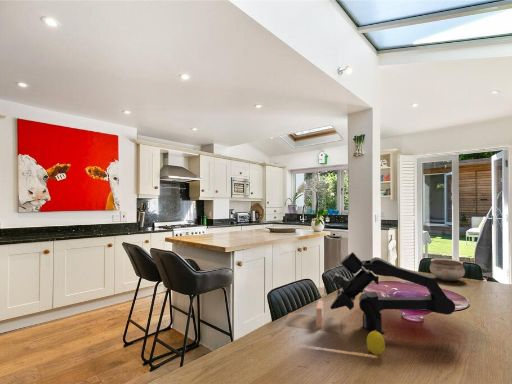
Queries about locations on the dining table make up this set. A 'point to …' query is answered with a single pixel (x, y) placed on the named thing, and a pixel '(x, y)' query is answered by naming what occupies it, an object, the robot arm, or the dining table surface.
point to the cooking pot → (447, 269)
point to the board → (312, 322)
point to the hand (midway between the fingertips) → (331, 308)
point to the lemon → (375, 343)
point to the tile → (319, 314)
